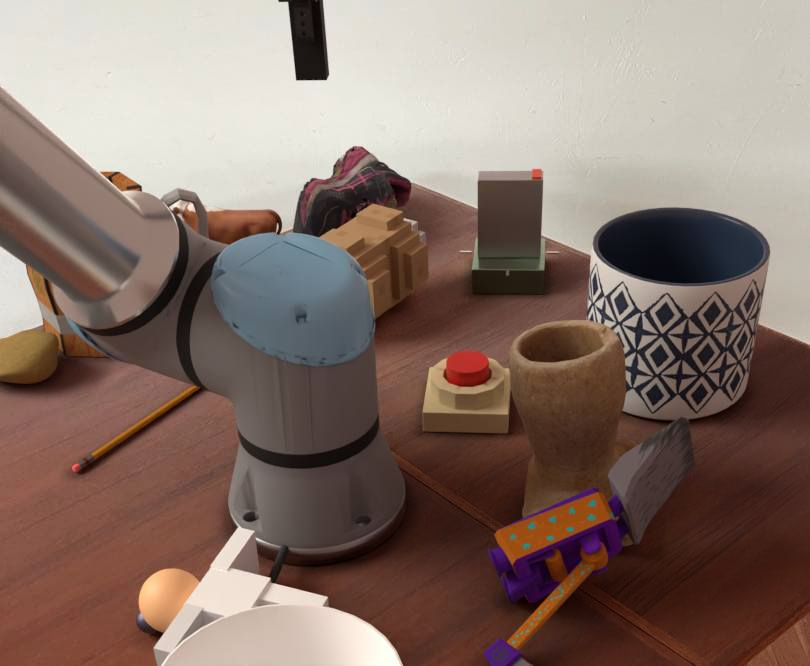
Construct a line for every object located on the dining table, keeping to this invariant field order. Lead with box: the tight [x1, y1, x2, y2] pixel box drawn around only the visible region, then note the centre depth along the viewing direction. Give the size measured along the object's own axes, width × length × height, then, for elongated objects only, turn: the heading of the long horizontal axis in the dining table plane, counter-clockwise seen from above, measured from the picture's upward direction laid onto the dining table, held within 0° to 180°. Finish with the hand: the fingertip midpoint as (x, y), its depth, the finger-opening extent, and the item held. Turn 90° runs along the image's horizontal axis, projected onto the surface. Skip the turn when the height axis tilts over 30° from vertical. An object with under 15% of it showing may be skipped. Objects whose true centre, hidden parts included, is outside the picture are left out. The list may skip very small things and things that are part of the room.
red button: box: [446, 350, 489, 387], centre depth 106 cm, size 4×4×2 cm
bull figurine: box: [171, 200, 283, 245], centre depth 130 cm, size 4×13×8 cm, turn 85°
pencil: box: [71, 385, 201, 473], centre depth 109 cm, size 19×1×1 cm, turn 145°
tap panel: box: [458, 236, 560, 295], centre depth 128 cm, size 11×11×3 cm
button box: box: [421, 356, 511, 434], centre depth 108 cm, size 8×8×4 cm
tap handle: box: [477, 168, 544, 258], centre depth 124 cm, size 7×2×9 cm, turn 85°
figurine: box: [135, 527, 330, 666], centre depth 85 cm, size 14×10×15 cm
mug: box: [25, 171, 209, 358], centre depth 120 cm, size 20×14×15 cm
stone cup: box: [507, 319, 639, 548], centre depth 93 cm, size 15×12×15 cm
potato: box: [0, 329, 59, 385], centre depth 116 cm, size 7×8×8 cm
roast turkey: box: [319, 204, 430, 320], centre depth 121 cm, size 10×18×10 cm, turn 145°
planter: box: [585, 206, 771, 421], centre depth 107 cm, size 16×16×14 cm
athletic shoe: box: [292, 145, 413, 238], centre depth 135 cm, size 11×22×12 cm
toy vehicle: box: [482, 417, 696, 666], centre depth 83 cm, size 9×21×15 cm
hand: (312, 77), depth 99 cm, fingers closed
